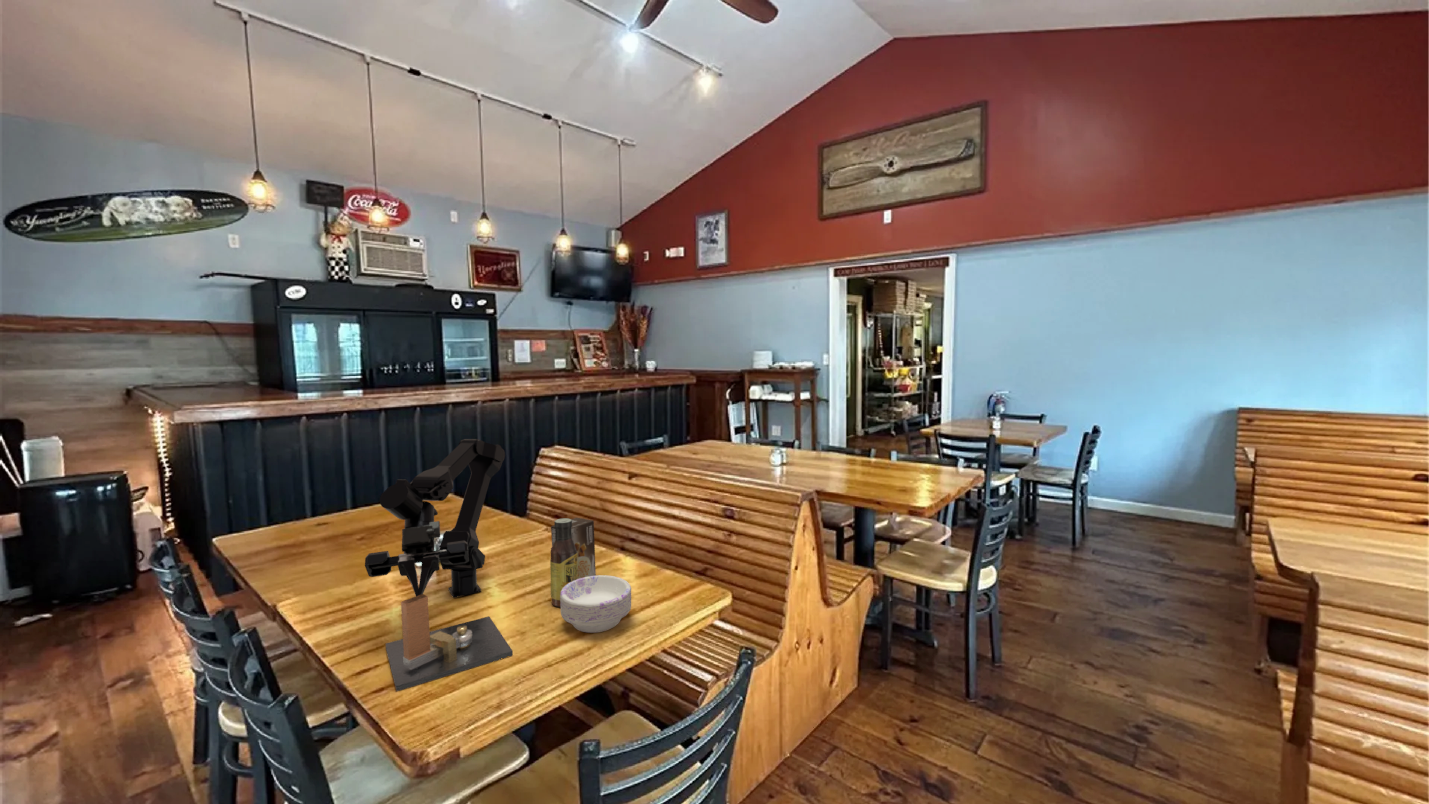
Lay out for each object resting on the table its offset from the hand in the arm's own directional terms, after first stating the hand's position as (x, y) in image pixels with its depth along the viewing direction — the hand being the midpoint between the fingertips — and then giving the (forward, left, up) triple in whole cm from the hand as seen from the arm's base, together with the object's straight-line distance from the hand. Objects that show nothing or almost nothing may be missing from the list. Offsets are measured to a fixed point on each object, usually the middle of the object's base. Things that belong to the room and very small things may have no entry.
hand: (418, 597), depth 113 cm
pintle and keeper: (+7, +4, -11) cm, 13 cm away
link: (+7, +2, -9) cm, 12 cm away
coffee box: (-12, +37, -11) cm, 41 cm away
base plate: (+5, +4, -11) cm, 12 cm away
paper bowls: (+11, +33, -11) cm, 36 cm away
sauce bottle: (-3, +31, -11) cm, 33 cm away
